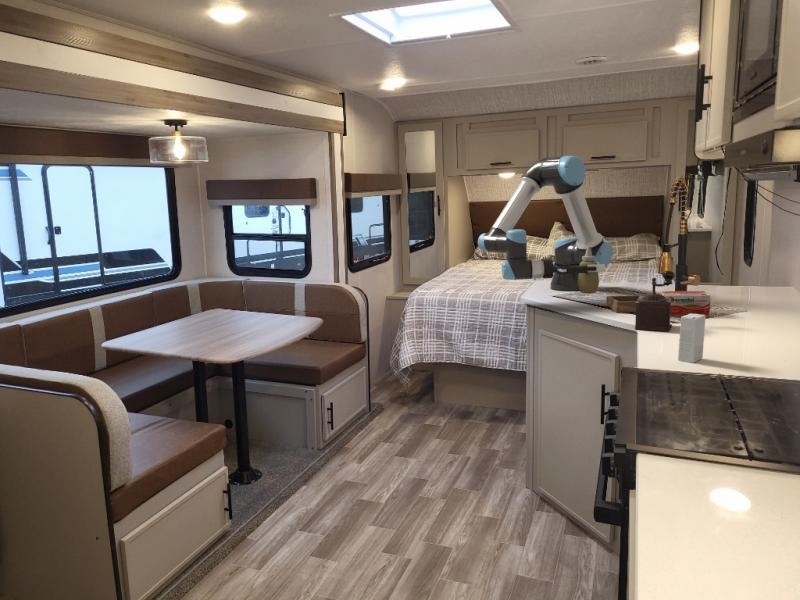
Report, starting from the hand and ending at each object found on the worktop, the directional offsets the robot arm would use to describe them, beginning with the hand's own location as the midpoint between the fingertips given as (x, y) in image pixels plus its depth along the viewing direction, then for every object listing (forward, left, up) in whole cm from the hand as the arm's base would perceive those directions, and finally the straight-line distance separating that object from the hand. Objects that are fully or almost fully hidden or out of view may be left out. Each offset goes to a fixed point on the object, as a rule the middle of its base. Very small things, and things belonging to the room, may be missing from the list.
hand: (601, 266), depth 241 cm
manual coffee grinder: (+38, +7, -16) cm, 42 cm away
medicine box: (+21, +24, -16) cm, 35 cm away
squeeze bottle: (0, -5, -10) cm, 11 cm away
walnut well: (+9, +8, -15) cm, 19 cm away
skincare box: (+79, +1, -15) cm, 80 cm away
